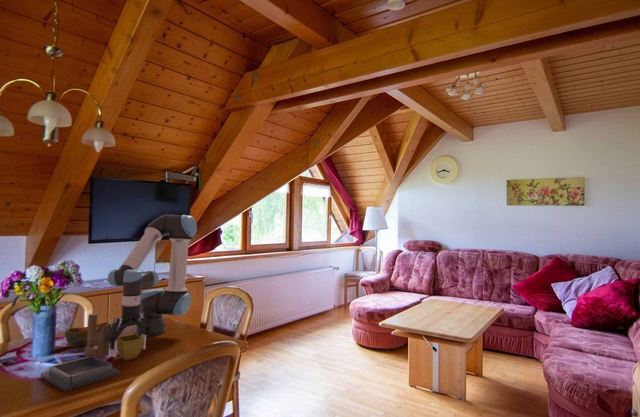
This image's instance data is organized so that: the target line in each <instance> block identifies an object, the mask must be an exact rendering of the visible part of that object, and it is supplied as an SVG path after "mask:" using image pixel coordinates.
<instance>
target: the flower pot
mask: <svg viewBox="0 0 640 417" xmlns="http://www.w3.org/2000/svg"><path fill="white" fill-rule="evenodd" d="M116 341H117V353H118V355H119V357H120V358H121V359H123V360H124V361H129V360H132V359H137V358H138V357H139V355H140V353H141V350H142V349H141V348H142V343H143V338H142V337H141V336H139V335H137V334H135V333H132V334H128V335H123V336H122V335H121V336H119V337H118V338H117V339H116Z"/></svg>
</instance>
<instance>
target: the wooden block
mask: <svg viewBox="0 0 640 417" xmlns="http://www.w3.org/2000/svg"><path fill="white" fill-rule="evenodd" d="M87 317H88V320H87V327H88V333H87V346H86V347H85V348H84V355H85V354H86V355H85V356H95V357H98V358H100V357H102V358H101V359H103V357H104V358H106V357H108V356H107V355H109V356H110V342H109V341H106V337H107V335H108V333H109V331H110V324H111V323H110V324H109V325H106V326H103V328H102V329H101V330H100V331H99V332H98V333H97V325H98V314H97V313H90V314H88V316H87ZM96 341H97V346H96ZM105 356H106V357H105Z"/></svg>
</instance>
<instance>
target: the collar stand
mask: <svg viewBox="0 0 640 417" xmlns="http://www.w3.org/2000/svg"><path fill="white" fill-rule="evenodd" d="M48 370H49V371H45V372H41V373H40V378H41V379H43V380H44V381H46V382H47V383H49V384H51V385H53V386H55V387H56V388H58V389H60V390H62V391H64V392H65V393H66V392H69V391H72V390H74V389H77V388H81V387H84V386H87V385H90V384H93V383H96V382H99V381H103V380H106V379H109V378H112V377H115V376H118V375H120V374H121V372H120V371H121V370H120V369H117V368H115V367H113V363H111V362H109V361H107V360H104V359H103V358H100V357H95V356H90V355H87V356H85V357H81V358H76V359H73V360H69V361H65V362H60V363H58V364H54V365H53V364H52V365H51V366H49V368H48Z"/></svg>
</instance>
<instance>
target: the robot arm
mask: <svg viewBox="0 0 640 417" xmlns="http://www.w3.org/2000/svg"><path fill="white" fill-rule="evenodd" d="M197 232H198V226H197V222H196V219H195V218H194V217H193V216H192V215H187V214H163V215H160V216H158V217H156V218H154V220H152V221H151V222H150V223H149V224H148V225H147V226H146V228H145V229H144V234H143V235H142V236H141V237H140V239H139V241H138V242H137V243H136V245H135V246H134V248H133V249H132V250H131V251H130V253H129V254H128V255H127V257H126V259H125V260H124V261H123V263H122V264H121V265H120V266H119V267H118V269H112V270H111V271H110V272H109V273H108V275H107V283H108V284H109V285H110V286H114V287H122V297H121V304H122V306H121V317H114V318H113V322H112V323H113V325H111V329H110V331H109V333H108V335H107V337H106V341H109V350H111V354H110V356H111V357H112V358H117V353H118V350H117V341H116V339H117V338H118V337H120V335H121V334H122V333H123V332H124V330H125V329H127V327H131V326H136V327H135V330H134V332H135V333H134V334H137V335H139V336H140V337H142V338H143V343H142V348H141V350H146V346H147V345H146V343H147V341H148V337H152V336H153V337H155V336H159V335H162V334H164V333H165V332H166V325H165V321H164V318H163V316H164V315H170V316H183V315H185V314H186V313H187V312H188V310H189V309H190V308H191V303H192V297H191V294H190V293H188V289H187V287H186V278H187V268H188V267H187V264H188V255H189V254H188V253H189V244H190V242H191V241H192V239H193V237H194V236H196V233H197ZM166 236H169V238H168V239H169V240H170V241H171V248H170V249H171V250H170V261H169V262H170V264H169V272H168V285H167V287H166V288H165V289H164V288H152V287H154V286H156V285H157V283H158V282H159V275H158V273H157V272H156V271H154V270H147V271H142V269H140V267H141V265H142V264H143V263H144V261H145V260H146V259H147V257H148V255H149V254H150V253H151V251H152V250H153V248H154V246H155V245H156V244H157V242H159V241H161V240H162V238H163V237H166ZM148 288H152V289H148ZM144 289H147V290H144ZM142 290H144V291H142Z"/></svg>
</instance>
